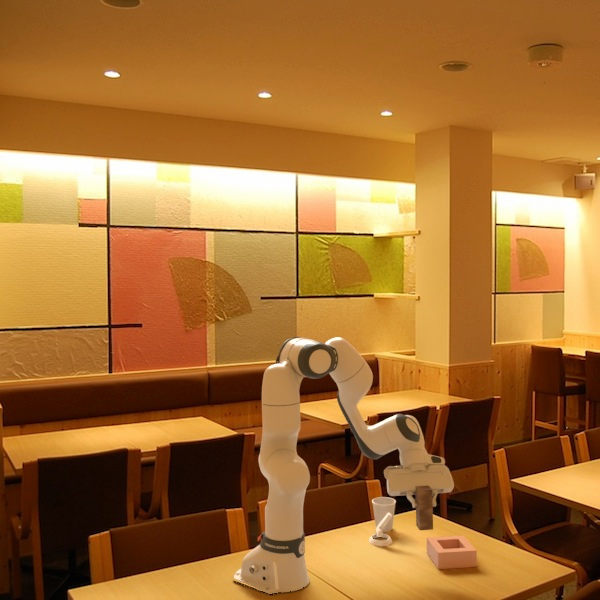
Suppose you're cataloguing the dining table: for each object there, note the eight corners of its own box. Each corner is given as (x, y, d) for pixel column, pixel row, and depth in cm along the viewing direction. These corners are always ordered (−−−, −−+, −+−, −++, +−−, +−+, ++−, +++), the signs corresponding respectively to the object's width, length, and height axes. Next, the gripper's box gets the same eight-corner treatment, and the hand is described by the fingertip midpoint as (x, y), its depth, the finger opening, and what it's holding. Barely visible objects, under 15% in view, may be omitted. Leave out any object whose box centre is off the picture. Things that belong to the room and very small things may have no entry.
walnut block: (419, 530, 207) (419, 490, 207) (416, 525, 211) (415, 486, 211) (433, 529, 208) (432, 489, 207) (429, 524, 212) (428, 485, 211)
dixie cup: (372, 524, 249) (371, 496, 248) (395, 524, 248) (395, 497, 248) (372, 533, 241) (371, 504, 240) (396, 533, 240) (396, 505, 239)
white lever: (408, 530, 229) (391, 520, 227) (386, 558, 231) (369, 548, 229) (402, 517, 236) (386, 508, 234) (381, 544, 238) (365, 535, 236)
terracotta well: (438, 569, 211) (437, 552, 211) (426, 553, 223) (426, 537, 223) (476, 566, 213) (476, 550, 212) (463, 550, 225) (463, 535, 224)
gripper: (384, 461, 214) (392, 503, 205) (449, 457, 216) (460, 499, 207) (381, 471, 219) (389, 513, 210) (444, 467, 221) (455, 509, 212)
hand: (424, 506), depth 208 cm, fingers closed on walnut block, 4 cm apart
